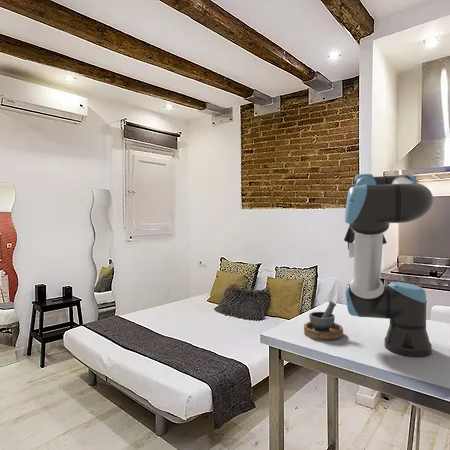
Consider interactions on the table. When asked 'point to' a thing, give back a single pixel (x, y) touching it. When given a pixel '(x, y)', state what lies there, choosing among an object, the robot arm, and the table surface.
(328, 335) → the round wooden tray
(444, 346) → the table surface
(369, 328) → the table surface
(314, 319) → the mortar and pestle
